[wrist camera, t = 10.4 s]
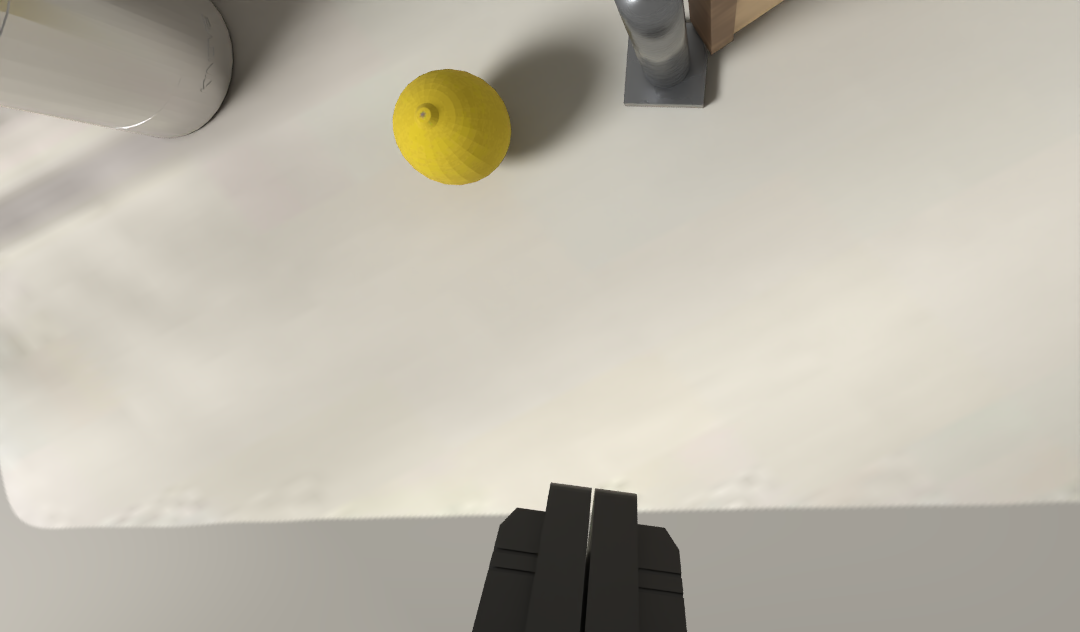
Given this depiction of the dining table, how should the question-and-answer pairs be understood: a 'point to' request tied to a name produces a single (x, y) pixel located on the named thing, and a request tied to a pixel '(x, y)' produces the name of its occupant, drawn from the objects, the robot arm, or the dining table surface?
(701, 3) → the gate
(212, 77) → the robot arm
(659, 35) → the grey upright posts
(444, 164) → the lemon
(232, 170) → the dining table surface
